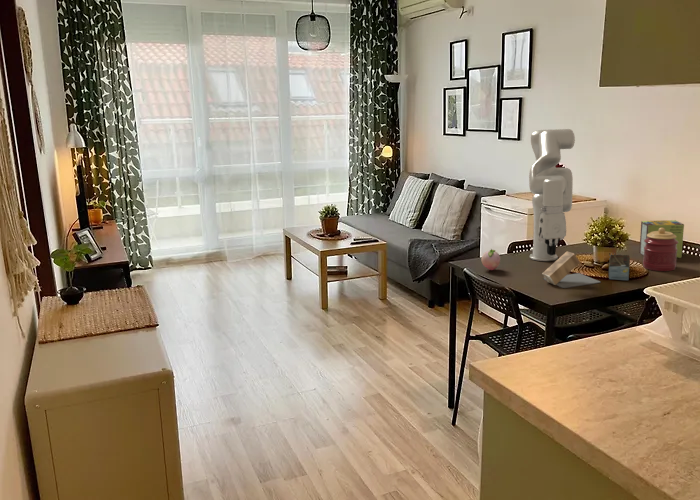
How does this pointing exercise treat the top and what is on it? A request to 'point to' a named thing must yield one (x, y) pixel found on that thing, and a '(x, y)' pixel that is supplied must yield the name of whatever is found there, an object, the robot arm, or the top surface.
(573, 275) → the rubber mat
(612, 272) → the beverage carton
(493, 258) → the decorative fruit
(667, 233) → the canister
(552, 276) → the oak pillar
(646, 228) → the protein box
